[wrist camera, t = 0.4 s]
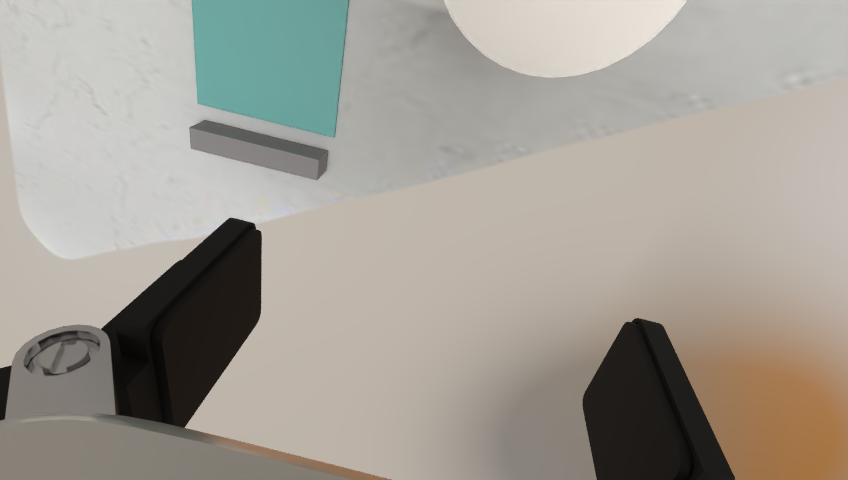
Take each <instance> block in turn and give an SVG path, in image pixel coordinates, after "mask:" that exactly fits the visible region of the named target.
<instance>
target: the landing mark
mask: <svg viewBox="0 0 848 480" xmlns="http://www.w3.org/2000/svg"><path fill="white" fill-rule="evenodd" d="M348 4H349V0H192V12H193V29H194V47H195V64H196V82H197V99H198V104H201V105H205V106H209V107H213V108H217V109H221V110H225V111H229V112H233V113H237V114H241V115H245V116H249V117H253V118H257V119H261V120H265V121H269V122H273V123H277V124H281V125H285V126H289V127H294V128H298V129H302V130H306V131H310V132H314V133H318V134H322V135H326V136H330V137H335V129H336V119H337V110H338V100H339V90H340V81H341V71H342V62H343V52H344V42H345V33H346V23H347V14H348Z"/></svg>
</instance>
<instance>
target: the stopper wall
mask: <svg viewBox="0 0 848 480" xmlns="http://www.w3.org/2000/svg"><path fill="white" fill-rule="evenodd" d="M189 129H190V143H191V149H195V150H199V151H203V152H206V153H210V154H214V155H218V156H222V157H226V158H230V159H234V160H238V161H242V162H246V163H250V164H254V165H258V166H262V167H266V168H270V169H274V170H278V171H282V172H286V173H290V174H294V175H298V176H302V177H306V178H310V179H314V180H318V179H319V178H320V176H321V175H322V174H323V173H324V172H325V171H326V165H327V155H328V151H326V150H322V149H318V148H314V147H310V146H306V145H302V144H298V143H294V142H290V141H286V140H282V139H278V138H274V137H270V136H266V135H262V134H258V133H254V132H250V131H246V130H242V129H238V128H234V127H230V126H226V125H222V124H218V123H214V122H210V121H206V120H204V121H202V122H200V123H198V124H196V125H194V126H192V127H190V128H189Z"/></svg>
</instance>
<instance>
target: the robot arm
mask: <svg viewBox="0 0 848 480" xmlns="http://www.w3.org/2000/svg"><path fill="white" fill-rule="evenodd" d="M261 242H262V236H261V231H259V230H256V227H255V224H254V223H251V222H247V221H243V220H239V219H235V218H229V219H228V220H226V221H225V222H224V223H223V224H222V225H221V226H220V227H218V228H217V229H216V230H215V231H214V232H213V233H212V234H211V235H210V236H208V237H207V238H206V239H205V240H204V241H203V242H202V243H201V244H199V245H198V246H197V247H196V248H195V249H194V250H193V251H192V252H190V253H189V254H188V255H187V256H186V257H185V258H184V259H183V260H180V261H178V262H177V263H175V264H174V265H173V266H172V267H171V268H170V269H168V270H167V271H166V272H165V273H164V274H163V275H162V276H161V277H159V278H158V279H157V280H156V281H155V282H154V283H153V284H151V285H150V286H149V287H148V288H147V289H146V290H145V291H144V292H142V293H141V294H140V295H139V296H138V297H137V298H136V299H134V300H133V301H132V302H131V303H130V304H129V305H128V306H127V307H125V308H124V309H123V310H122V311H121V312H120V313H119V314H118V315H116V317H114V318H113V319H112V320H111V321H110V322H108V323H107V324H106V325H105V326H104V327H103V328H102V329H99V328H96V327H92V326H88V325H71V326H63V327H59V328H56V329H52V330H49V331H47V332H44V333H42V334H40V335H38V336H36V337H34V338H33V339H31V340H30V341H28V342H27V343H25V344H24V345H23V346H22V347H21V348H20V350H19V351H18V352H17V353H16V354H15V357H14V359H13V362H12V365H11V366H8V367H4V368H0V480H391V479H387V478H383V477H378V476H375V475H371V474H367V473H363V472H360V471H355V470H351V469H348V468H344V467H340V466H336V465H332V464H328V463H324V462H320V461H316V460H312V459H308V458H304V457H301V456H296V455H292V454H289V453H285V452H281V451H277V450H273V449H269V448H265V447H261V446H256V445H253V444H249V443H245V442H241V441H237V440H233V439H228V438H224V437H220V436H216V435H212V434H208V433H203V432H199V431H195V430H191V429H186V428H184V427H185V426H186V425H187V423H188V422H189V420H190V419H191V417H192V416H193V415H194V413H195V412H196V410H197V409H198V407H199V406H200V405H201V403H202V402H203V400H204V399H205V397H206V396H207V395H208V393H209V392H210V390H211V389H212V387H213V386H214V384H215V383H216V382H217V380H218V379H219V377H220V376H221V374H222V373H223V372H224V370H225V369H226V367H227V366H228V365H229V363H230V362H231V360H232V359H233V357H234V356H235V355H236V353H237V352H238V350H239V349H240V347H241V346H242V344H243V343H244V342H245V340H246V339H247V337H248V336H249V334H250V333H251V332H252V330H253V329H254V327H255V326H256V324H257V323H258V320H259V317H260V314H261V245H262V243H261ZM583 410H584V416H585V421H586V426H587V431H588V436H589V442H590V447H591V451H592V456H593V462H594V467H595V472H596V477H597V480H735V477H734V475H733V473H732V471H731V469H730V467H729V464H728V462H727V460H726V458H725V456H724V454H723V452H722V450H721V447H720V445H719V443H718V441H717V439H716V437H715V435H714V433H713V431H712V429H711V426H710V424H709V422H708V420H707V418H706V416H705V414H704V412H703V409H702V407H701V405H700V403H699V401H698V399H697V397H696V395H695V392H694V390H693V388H692V386H691V384H690V382H689V380H688V378H687V376H686V373H685V371H684V369H683V367H682V365H681V363H680V361H679V358H678V357H677V354H676V352H675V350H674V348H673V346H672V344H671V341H670V339H669V338H668V335H667V333H666V331H665V329H664V327H663V326H662V325H661V324H659V323H656V322H652V321H647V320H643V319H639V318H636V319H634V320H633V321H632V322H626V323H625V324H624V325H623V327H622V328H621V330H620V332H619V334H618V336H617V337H616V339H615V341H614V342H613V344H612V346H611V348H610V349H609V351H608V353H607V355H606V357H605V358H604V360H603V362H602V363H601V365H600V367H599V369H598V370H597V372H596V374H595V376H594V377H593V379H592V381H591V383H590V384H589V386H588V388H587V390H586V391H585V394H584V397H583Z"/></svg>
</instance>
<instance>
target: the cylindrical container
mask: <svg viewBox="0 0 848 480" xmlns="http://www.w3.org/2000/svg"><path fill="white" fill-rule="evenodd" d="M443 1H444V3H445V5H446V7H447V9H448V12H449V14H450V16H451V18H452V20H453V21H454V22H455V24H456V25H457V26H458V28H459V29H460V31H461V32H462V33H463V35H464V36H465V37H466V39H467V40H468V41H469V42H470V43H471V44H473V45H474V46H475V47H476V48H477V49H478V50H479V51H480V52H481V53H482V54H483V55H485V56H486V57H488V58H490V59H491V60H493V61H495V62H496V63H498V64H500V65H501V66H503V67H505V68H508V69H511V70H514V71H517V72H519V73H522V74H525V75H532V76H539V77H547V78H556V77H569V76H578V75H582V74H585V73H589V72H592V71H596V70H599V69H603V68H605V67H607V66H609V65H611V64H613V63H615V62H617V61H619V60H621V59H623V58H625V57H627V56H629V55H631V54H632V53H633V52H635V51H636V50H637V49H639V48H640V47H642V46H643V45H644V44H646V43H647V42H649V41H650V40H651V39H653V38H654V37H655V36H656V35H657V34H658V33H659V32H660V31H661V30H662V29H663V28H664V27H665V26H666V25H667V24H668V23H669V22H670V21H671V20H672V19H673V18H674V17H675V16H676V14H677V13H678V12H679V10H680V9H681V8H682V6H683V5H684V4H685V2H686V1H687V0H443Z"/></svg>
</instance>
